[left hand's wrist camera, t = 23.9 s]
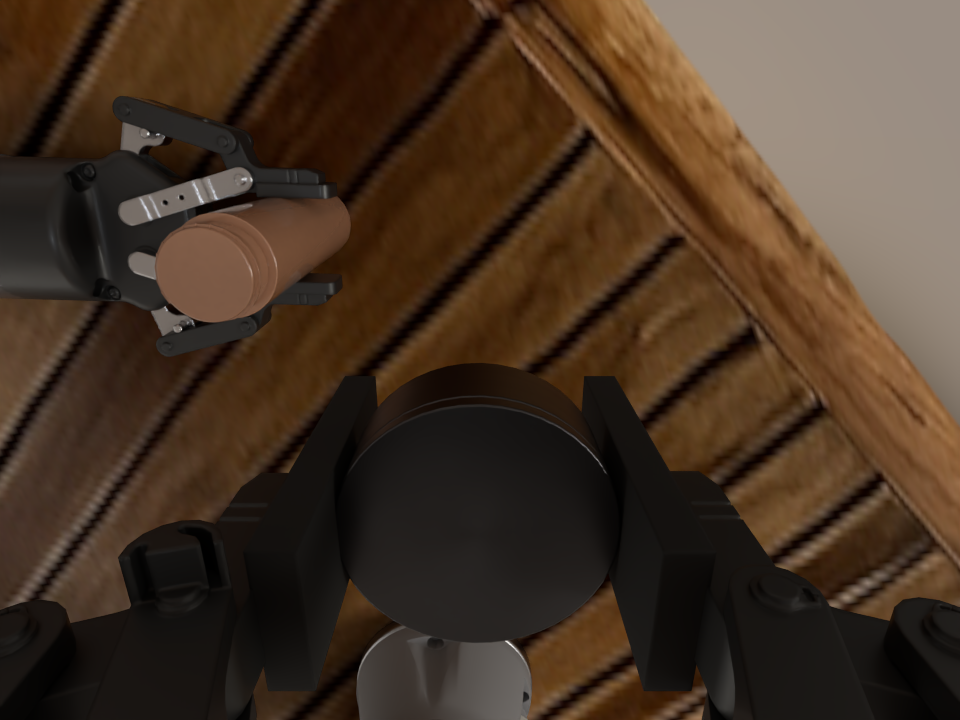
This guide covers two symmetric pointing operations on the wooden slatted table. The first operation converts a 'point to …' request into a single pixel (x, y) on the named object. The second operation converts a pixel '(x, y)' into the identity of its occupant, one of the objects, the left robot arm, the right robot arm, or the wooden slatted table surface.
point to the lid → (477, 506)
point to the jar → (247, 254)
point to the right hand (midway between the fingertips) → (335, 238)
